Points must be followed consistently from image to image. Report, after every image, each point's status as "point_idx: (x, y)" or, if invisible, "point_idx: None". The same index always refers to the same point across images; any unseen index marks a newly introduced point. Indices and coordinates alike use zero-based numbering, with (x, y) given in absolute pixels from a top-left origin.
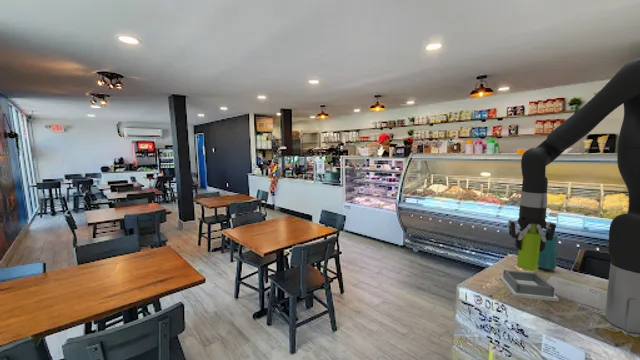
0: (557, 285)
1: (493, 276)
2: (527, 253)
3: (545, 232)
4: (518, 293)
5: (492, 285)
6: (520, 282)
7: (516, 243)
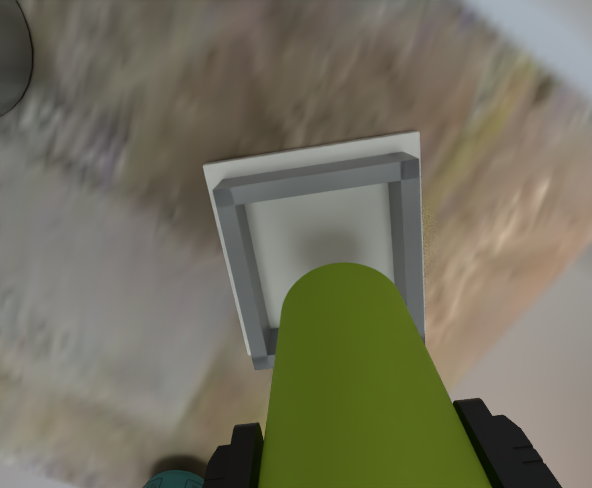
0: (171, 341)
1: (443, 335)
2: (397, 350)
3: None
4: (393, 148)
5: (484, 228)
6: None
7: (548, 473)
